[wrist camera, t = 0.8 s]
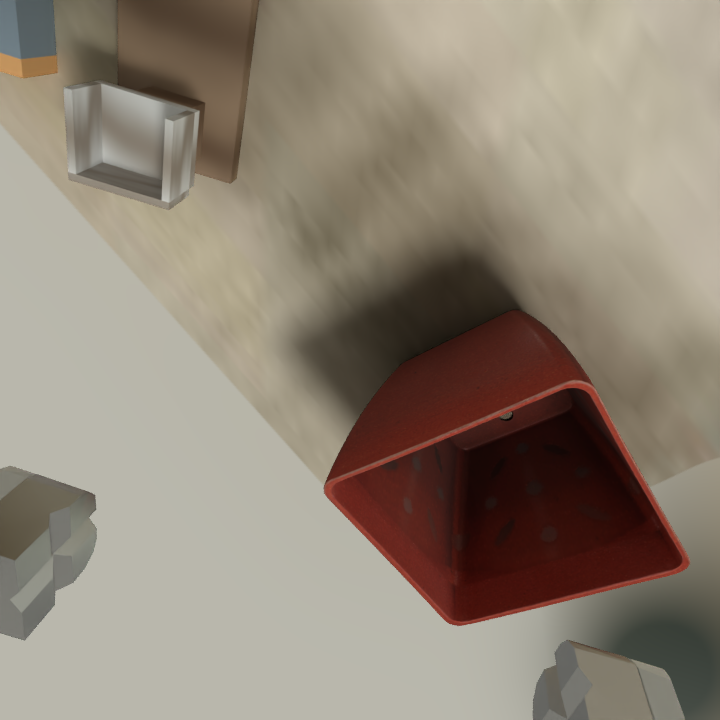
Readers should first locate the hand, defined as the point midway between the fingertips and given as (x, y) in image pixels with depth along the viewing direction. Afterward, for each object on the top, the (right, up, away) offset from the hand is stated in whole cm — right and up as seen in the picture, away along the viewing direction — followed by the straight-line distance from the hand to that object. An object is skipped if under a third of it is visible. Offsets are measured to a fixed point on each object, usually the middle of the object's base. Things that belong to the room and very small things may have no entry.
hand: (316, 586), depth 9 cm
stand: (-11, +28, +27) cm, 41 cm away
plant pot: (+13, +1, +42) cm, 44 cm away
